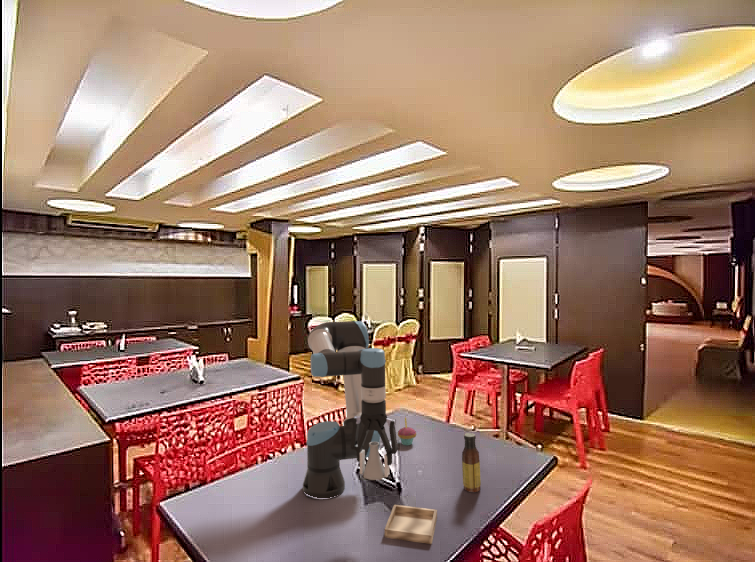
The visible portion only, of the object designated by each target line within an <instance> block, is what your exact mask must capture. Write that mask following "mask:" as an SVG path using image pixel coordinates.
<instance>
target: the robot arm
mask: <svg viewBox="0 0 755 562" xmlns="http://www.w3.org/2000/svg"><path fill="white" fill-rule="evenodd" d="M368 332H369V331H368V329H367V326H366V324H365V323H364V322H363V321H361V320H359V321H358V320H350V321H349V320H348V321H327V322H326V321H325V322H323V323H320V324H318V325H316V326H315V327H313V328H312V329H311V330H310V331H309V333H308V336H307V344H308V347H309V349H310V350H311V351H312V354H311V355H310V375H311V376H312V377H315V378H316V377H317V378H318V377H319V378H325V377H326V378H327V377H336V376H337V377H338V376H342V377H343V388H344V395H345V397H344V398H345V408H346V417H345V418H344V420H343V425H340V424H339V422H337V421H335V420H334V421H331V420H328V421H322V422H318V423H316V424H314V425H312V426H311V427H310V428H309V429H308V430H307V433H306V442H305V443H306V445H307V451H306V452H307V453H306V454H307V455H306V456H307V458H306V459H307V460H306V461H307V470H306V472H305V476H304V479H303V482H302V492H303V491H304V492H305V493H306V494H308V495H310V496H313V497H317V498H330V497H334V496H336V497H338V496H340V495H341V494H343V493H344V491H345V489H346V488H345V487H346V486H345V485H346V481H345V478H344V475H343V473H342V470H341V467H340V464H341V463H340V461H343V460H353V459H354V460H355V459H356V462H357V463H359V474H360V475H363V473H364V470H365V467H366V458H369V453H370V446H369V443H370V442H379V446H378V451H379V449H380V445H381V442H382V446H383V448H384V450H385V454H384V455H383V457H384V458H383V459H384V462H383V464H384V465H383V466H384V470H385V477H384V478H388V476H389V475H390V466H391V465H392V464H393V455H396V454H397V452H398V451H399V445H398V444H399V443H398V439H397V431H396V423H397V420H396V418H393V419H391V418H389V417H388V416H387V407H386V406H387V401H386V400H385V399H386V398H387V397H386V395H387V392H386V390H387V389H386V356H385V355H386V352H385V350H384V349H381V348H379V347H378V348H377V347H374V348H372V347H369V346H370V345H369V344H370V340H369V333H368ZM336 351H337V352H336ZM386 423H387V426H388V431H389V436H390V439H389V438H388V435H387V432H386V428H385V425H386ZM339 494H340V495H339ZM337 495H338V496H337ZM334 498H335V497H334ZM330 499H331V498H330Z"/></svg>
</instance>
